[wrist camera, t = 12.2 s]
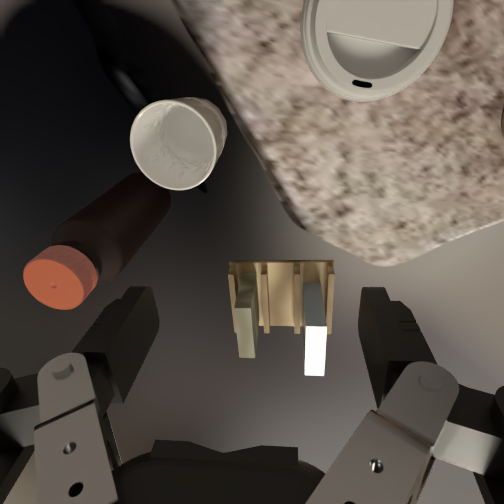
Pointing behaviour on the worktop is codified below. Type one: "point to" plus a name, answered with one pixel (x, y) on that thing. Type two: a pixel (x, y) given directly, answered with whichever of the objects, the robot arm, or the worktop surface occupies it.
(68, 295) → the bottle
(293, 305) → the dish rack
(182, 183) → the white cup
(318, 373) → the pale blue-grey block
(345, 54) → the coffee cup
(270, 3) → the worktop surface
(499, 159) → the worktop surface
